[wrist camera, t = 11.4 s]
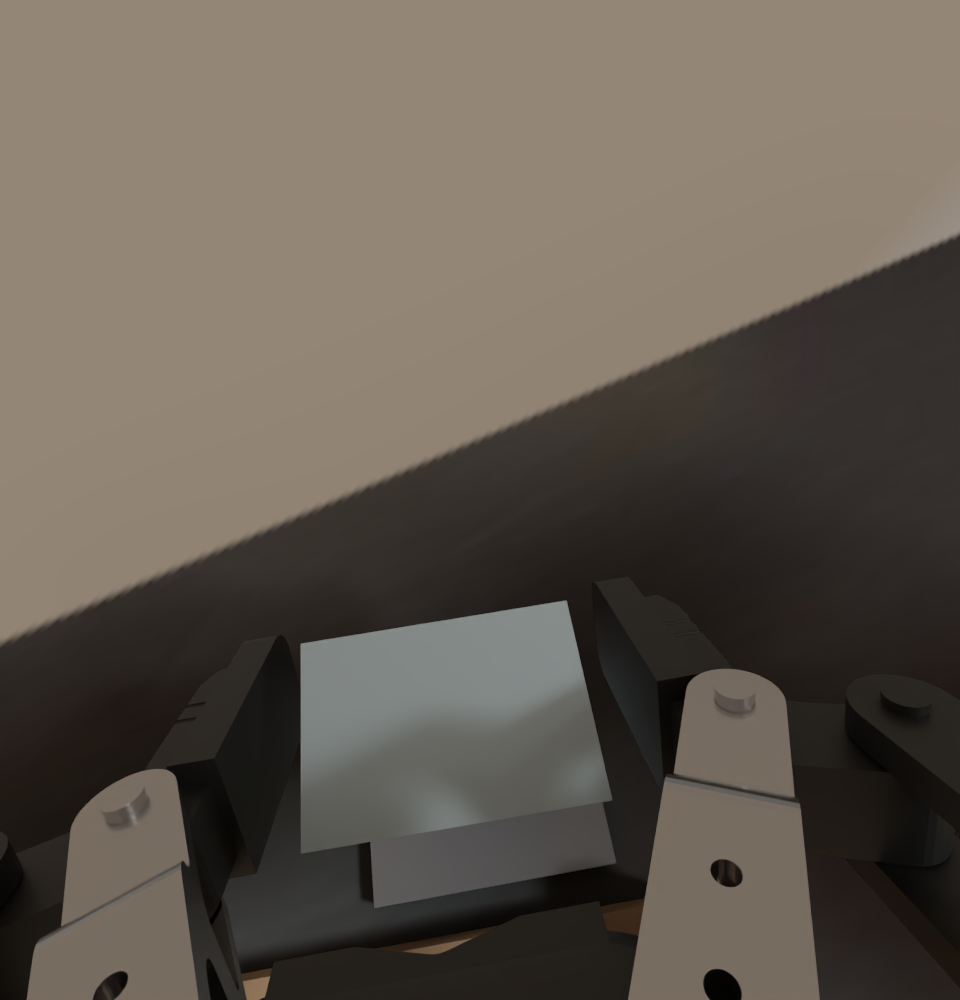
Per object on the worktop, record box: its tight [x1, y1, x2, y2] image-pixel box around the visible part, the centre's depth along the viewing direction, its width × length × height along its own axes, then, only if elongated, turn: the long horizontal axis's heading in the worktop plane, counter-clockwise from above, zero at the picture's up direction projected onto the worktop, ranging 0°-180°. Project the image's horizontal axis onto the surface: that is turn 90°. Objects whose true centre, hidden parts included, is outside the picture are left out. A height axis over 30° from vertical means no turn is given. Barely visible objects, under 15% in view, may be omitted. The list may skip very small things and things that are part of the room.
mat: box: [370, 802, 616, 908], centre depth 18 cm, size 7×7×1 cm
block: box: [301, 600, 612, 854], centre depth 13 cm, size 4×3×10 cm, turn 99°
